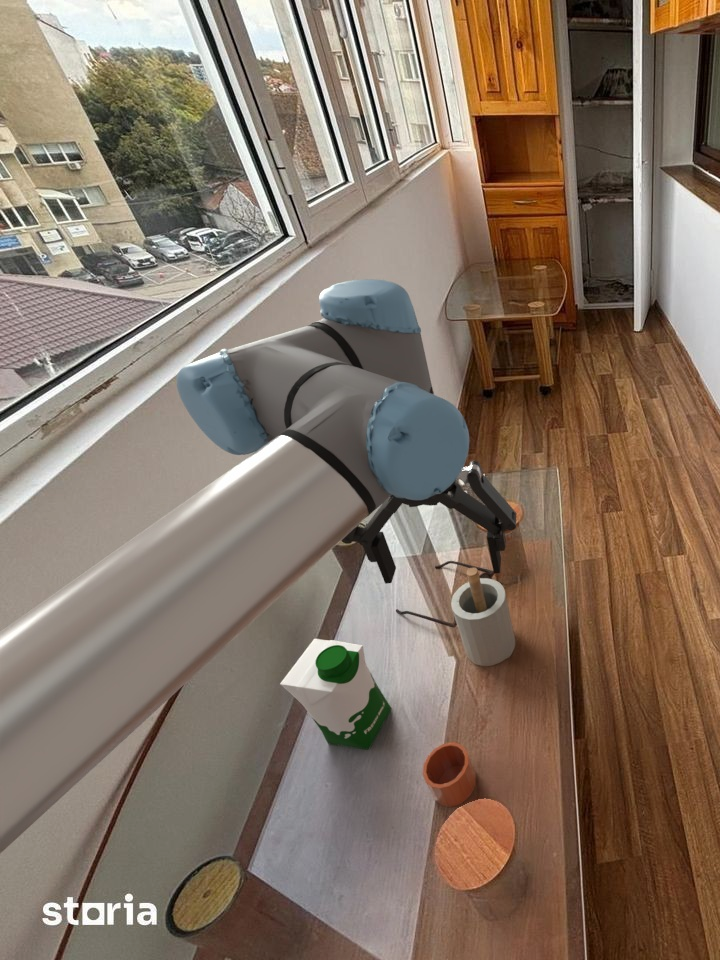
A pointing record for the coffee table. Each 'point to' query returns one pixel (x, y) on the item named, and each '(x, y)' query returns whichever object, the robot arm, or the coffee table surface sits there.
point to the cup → (484, 623)
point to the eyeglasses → (488, 575)
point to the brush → (476, 590)
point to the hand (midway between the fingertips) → (445, 570)
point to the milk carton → (339, 693)
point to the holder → (449, 774)
